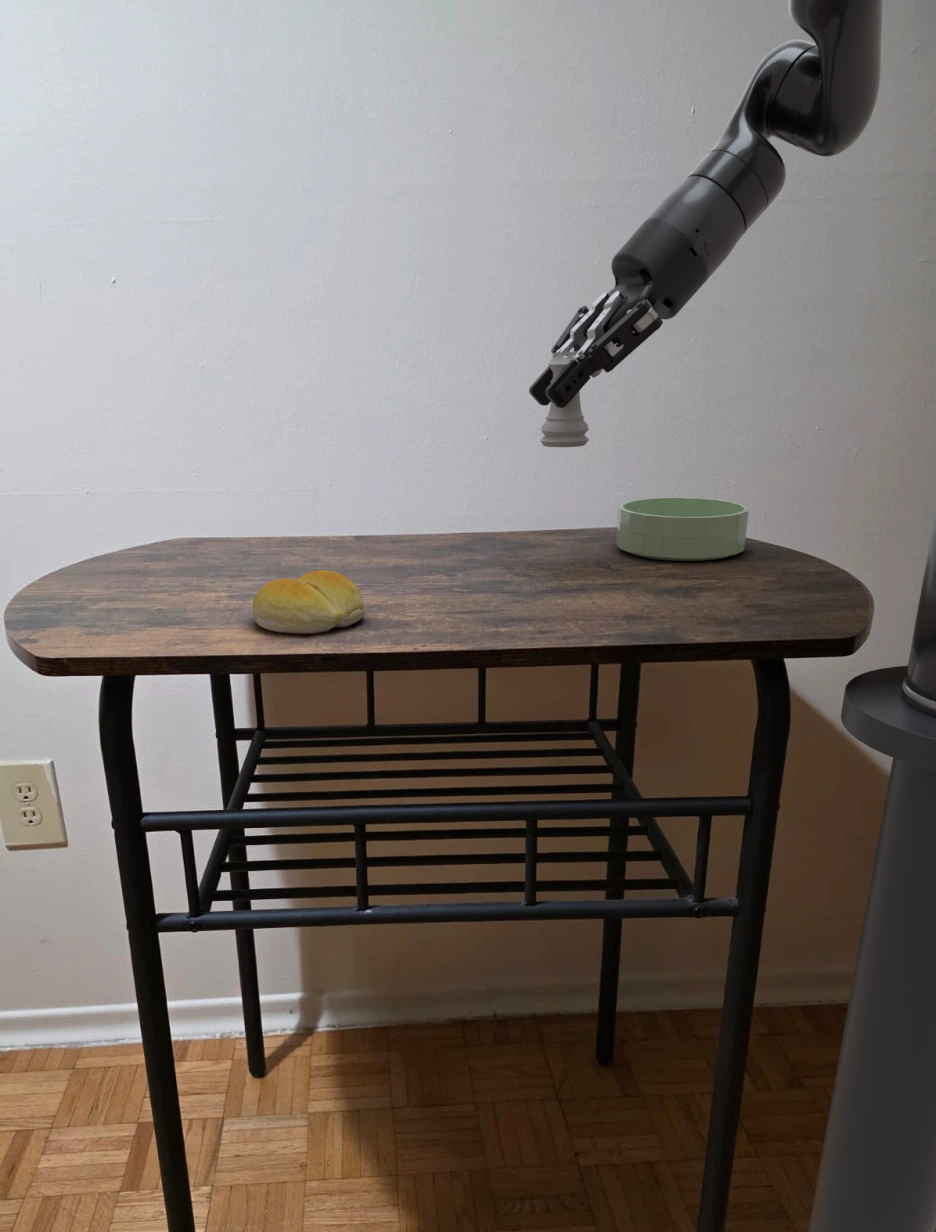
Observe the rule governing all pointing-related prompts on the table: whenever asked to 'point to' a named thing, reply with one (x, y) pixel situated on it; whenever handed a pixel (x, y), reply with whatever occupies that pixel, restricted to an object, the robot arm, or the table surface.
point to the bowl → (682, 528)
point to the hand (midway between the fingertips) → (545, 399)
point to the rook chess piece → (564, 413)
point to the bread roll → (308, 603)
